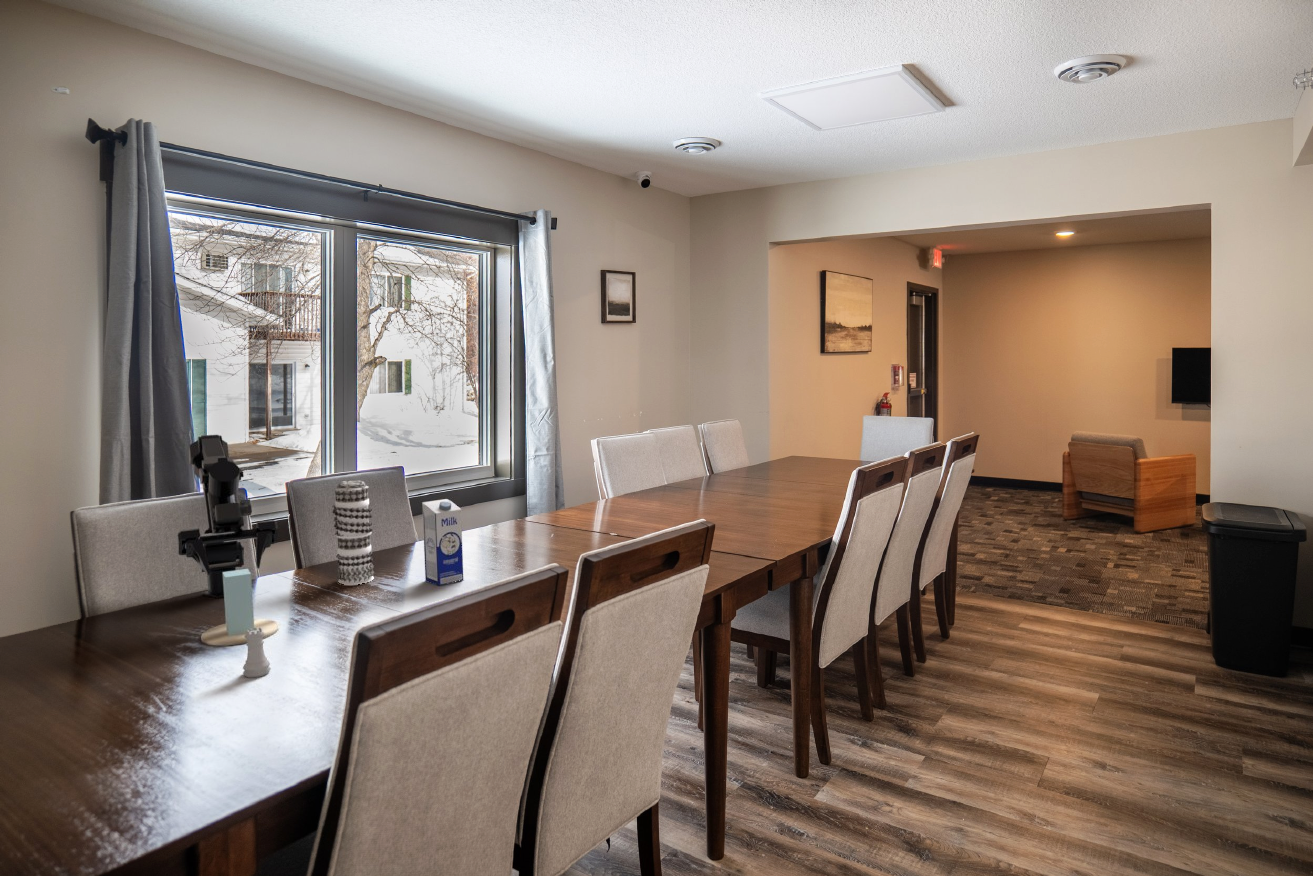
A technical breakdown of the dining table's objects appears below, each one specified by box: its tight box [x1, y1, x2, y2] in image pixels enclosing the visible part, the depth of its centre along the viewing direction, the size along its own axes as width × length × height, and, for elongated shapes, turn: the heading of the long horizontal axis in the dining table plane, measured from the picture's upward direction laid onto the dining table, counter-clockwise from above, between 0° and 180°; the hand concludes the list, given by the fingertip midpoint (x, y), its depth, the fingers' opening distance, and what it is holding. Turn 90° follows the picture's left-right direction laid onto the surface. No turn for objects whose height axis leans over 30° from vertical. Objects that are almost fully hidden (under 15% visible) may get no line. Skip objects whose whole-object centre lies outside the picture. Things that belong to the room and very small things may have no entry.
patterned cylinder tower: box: [332, 479, 375, 586], centre depth 202 cm, size 9×9×25 cm
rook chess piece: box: [242, 628, 271, 679], centre depth 144 cm, size 4×4×8 cm
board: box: [200, 618, 280, 647], centre depth 165 cm, size 14×14×1 cm
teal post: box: [223, 568, 255, 636], centre depth 164 cm, size 5×5×12 cm
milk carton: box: [421, 498, 464, 587], centre depth 201 cm, size 7×7×20 cm
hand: (234, 571), depth 168 cm, fingers open, 9 cm apart
